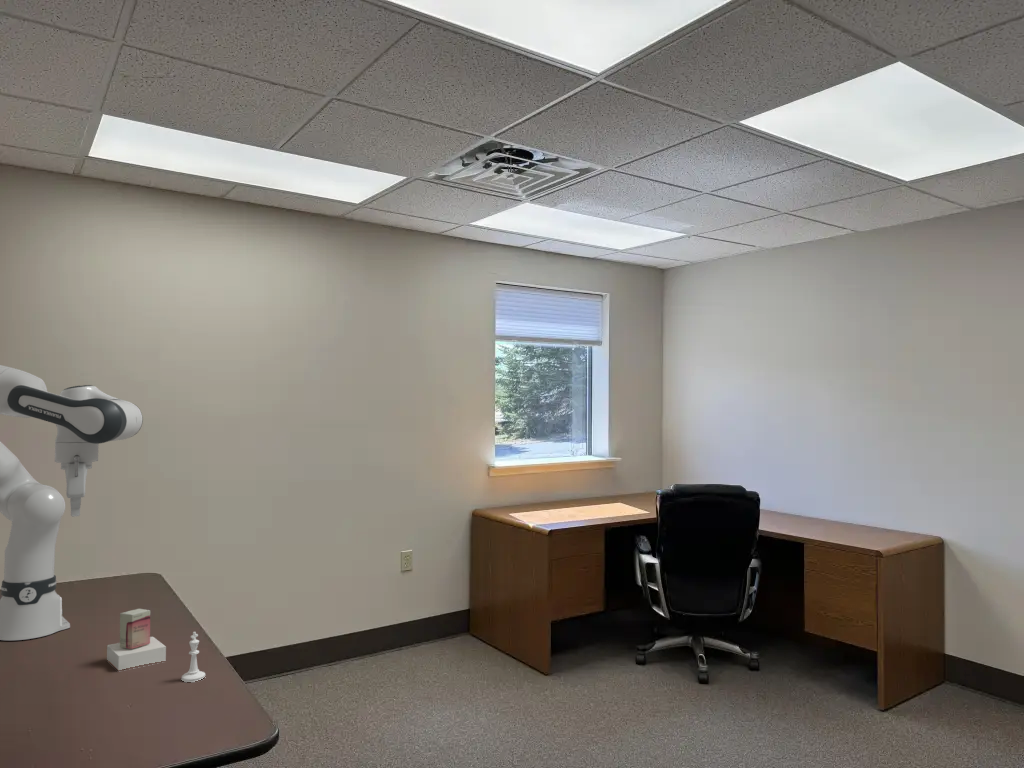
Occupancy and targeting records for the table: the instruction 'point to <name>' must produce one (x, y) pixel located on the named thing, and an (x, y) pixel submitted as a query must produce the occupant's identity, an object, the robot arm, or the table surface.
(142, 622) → the small box
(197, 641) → the chess piece
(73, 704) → the table surface
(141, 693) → the table surface
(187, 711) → the table surface
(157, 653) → the off-white block
